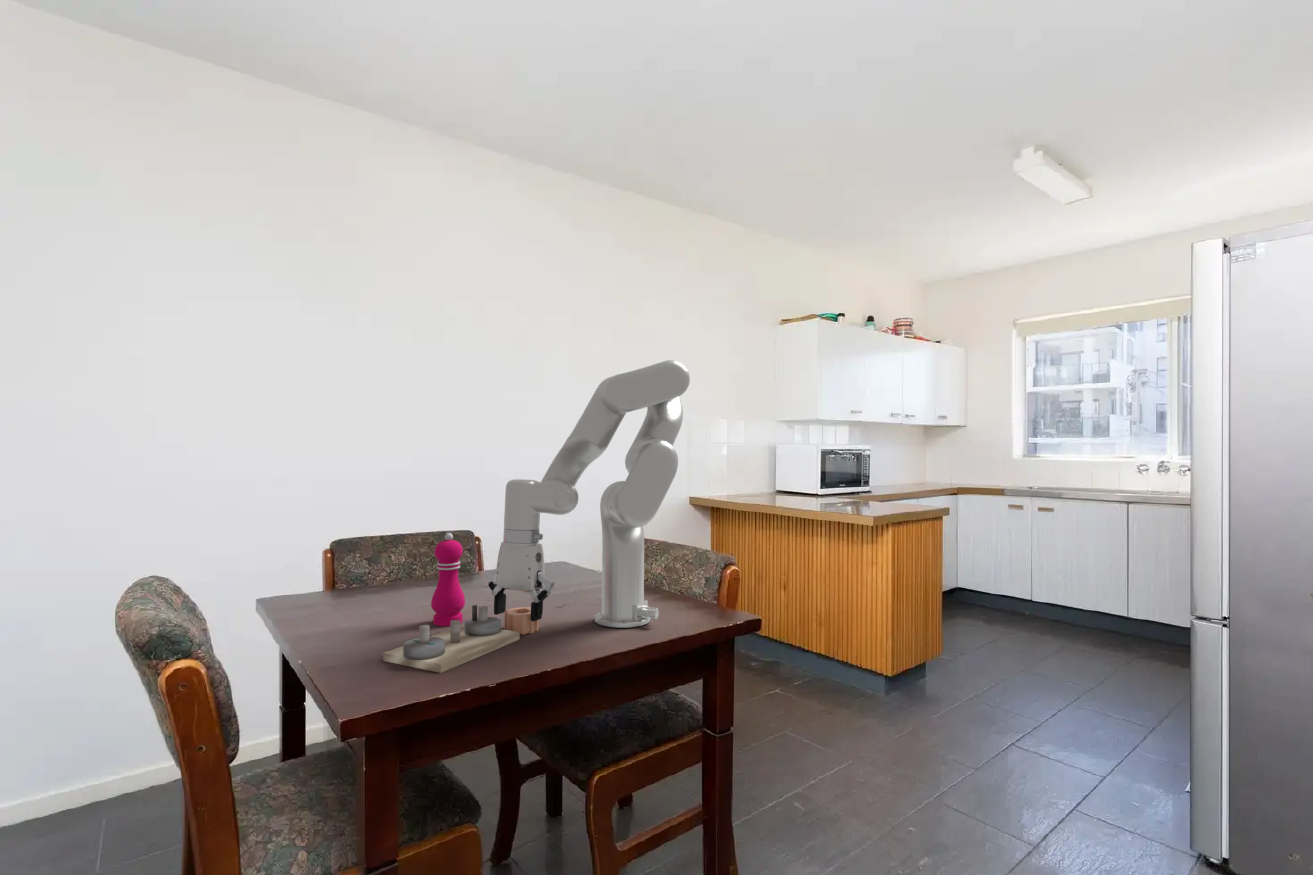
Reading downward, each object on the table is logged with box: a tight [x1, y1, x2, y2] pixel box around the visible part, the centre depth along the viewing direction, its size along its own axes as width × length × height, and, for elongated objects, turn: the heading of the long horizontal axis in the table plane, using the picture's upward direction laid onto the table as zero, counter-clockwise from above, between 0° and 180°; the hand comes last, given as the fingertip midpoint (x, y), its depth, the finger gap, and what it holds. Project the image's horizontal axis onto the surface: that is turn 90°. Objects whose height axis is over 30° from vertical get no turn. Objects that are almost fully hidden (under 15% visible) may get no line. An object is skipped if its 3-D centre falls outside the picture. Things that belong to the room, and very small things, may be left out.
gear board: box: [382, 604, 521, 674], centre depth 127 cm, size 14×23×6 cm, turn 154°
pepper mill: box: [430, 532, 466, 627], centre depth 146 cm, size 7×7×20 cm
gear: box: [503, 606, 540, 635], centre depth 141 cm, size 7×7×4 cm
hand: (517, 616), depth 141 cm, fingers open, 9 cm apart
